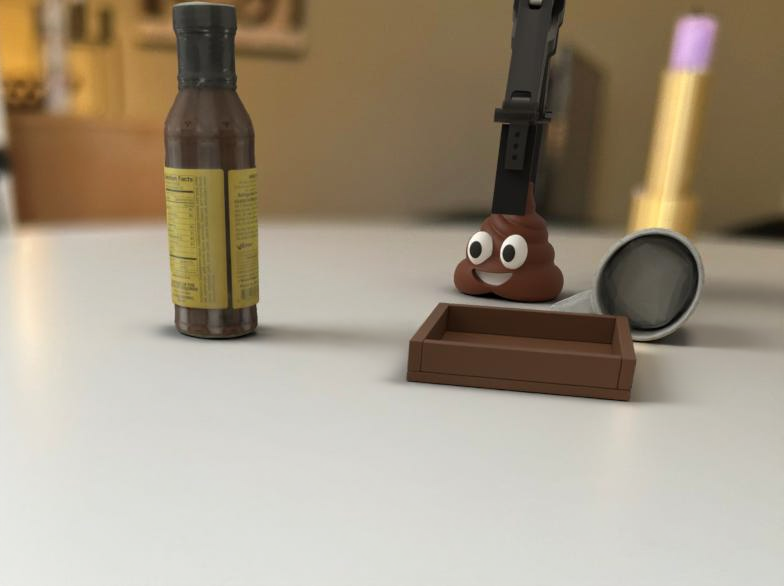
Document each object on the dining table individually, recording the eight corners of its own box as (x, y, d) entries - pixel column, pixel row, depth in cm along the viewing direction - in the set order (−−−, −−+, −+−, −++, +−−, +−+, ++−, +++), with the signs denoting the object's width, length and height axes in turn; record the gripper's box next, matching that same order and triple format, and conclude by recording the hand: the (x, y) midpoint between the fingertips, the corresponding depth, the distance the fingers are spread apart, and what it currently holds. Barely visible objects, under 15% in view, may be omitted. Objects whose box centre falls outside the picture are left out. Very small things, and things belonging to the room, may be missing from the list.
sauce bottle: (244, 321, 75) (244, 10, 66) (270, 338, 70) (275, 4, 61) (160, 324, 73) (149, 4, 64) (181, 342, 68) (172, -3, 59)
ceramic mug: (690, 326, 79) (710, 221, 75) (692, 346, 72) (714, 231, 68) (554, 316, 82) (567, 215, 78) (543, 334, 75) (557, 224, 71)
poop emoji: (575, 295, 91) (592, 183, 86) (538, 307, 85) (555, 187, 80) (475, 282, 96) (487, 176, 91) (434, 293, 89) (444, 179, 85)
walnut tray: (621, 351, 70) (627, 316, 69) (629, 401, 58) (636, 359, 57) (436, 336, 72) (439, 302, 71) (406, 380, 60) (409, 340, 59)
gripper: (513, -67, 88) (482, 194, 98) (490, -124, 67) (454, 217, 77) (600, -66, 87) (560, 199, 97) (605, -124, 65) (553, 224, 75)
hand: (513, 208), depth 87 cm, fingers open, 13 cm apart
